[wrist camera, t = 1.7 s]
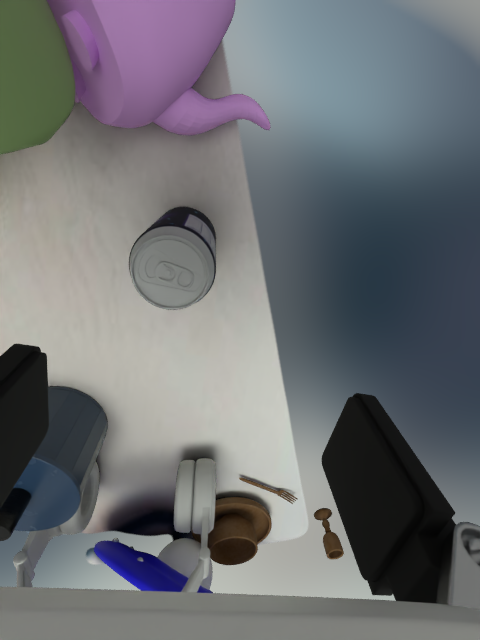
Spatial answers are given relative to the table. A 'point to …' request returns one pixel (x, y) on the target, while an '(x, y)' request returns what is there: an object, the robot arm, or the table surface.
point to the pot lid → (40, 498)
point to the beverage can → (175, 259)
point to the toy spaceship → (155, 565)
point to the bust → (32, 75)
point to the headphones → (189, 512)
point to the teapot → (150, 62)
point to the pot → (74, 431)
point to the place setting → (252, 529)
